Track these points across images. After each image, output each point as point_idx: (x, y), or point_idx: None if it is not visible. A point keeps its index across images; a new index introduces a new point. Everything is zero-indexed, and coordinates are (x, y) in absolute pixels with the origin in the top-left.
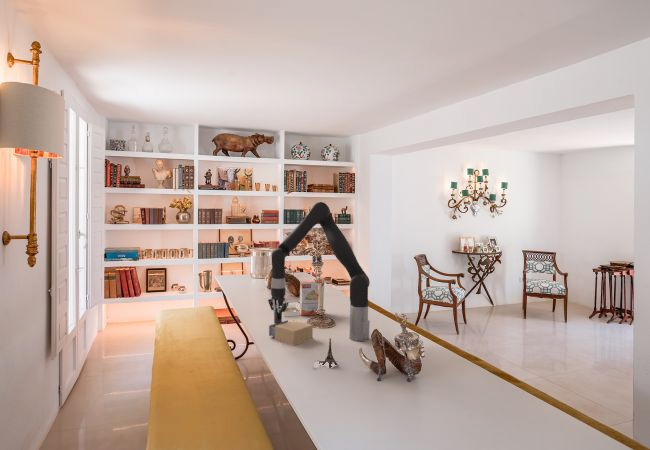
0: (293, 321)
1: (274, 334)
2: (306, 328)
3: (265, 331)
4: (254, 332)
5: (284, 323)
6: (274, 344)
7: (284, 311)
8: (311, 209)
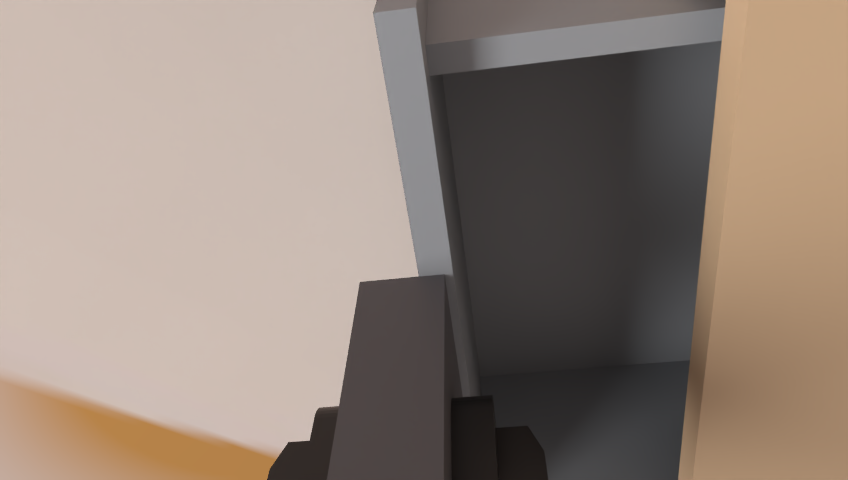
0: (843, 91)
1: (577, 396)
2: None
3: (146, 259)
4: (115, 394)
5: (730, 399)
6: None
7: None
8: None
